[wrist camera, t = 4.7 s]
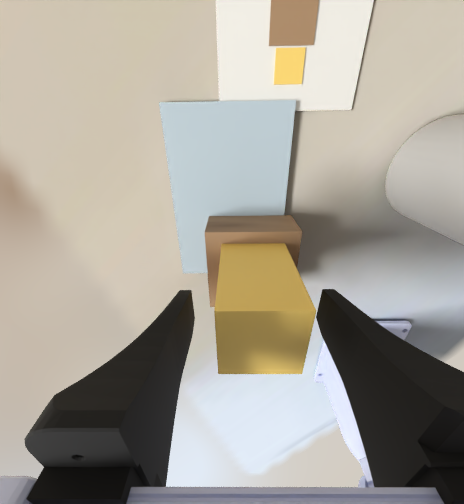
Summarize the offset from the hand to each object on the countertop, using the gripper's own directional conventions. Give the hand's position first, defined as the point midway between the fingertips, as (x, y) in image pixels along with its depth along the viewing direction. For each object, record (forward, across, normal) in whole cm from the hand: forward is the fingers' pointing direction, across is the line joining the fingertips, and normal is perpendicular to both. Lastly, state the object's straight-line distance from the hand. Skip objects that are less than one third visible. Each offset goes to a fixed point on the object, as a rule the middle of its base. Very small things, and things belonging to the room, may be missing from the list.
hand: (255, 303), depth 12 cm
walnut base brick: (+6, 0, 0) cm, 6 cm away
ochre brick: (+3, 0, 0) cm, 3 cm away
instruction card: (+7, -2, -12) cm, 14 cm away
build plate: (+7, +2, -4) cm, 8 cm away
